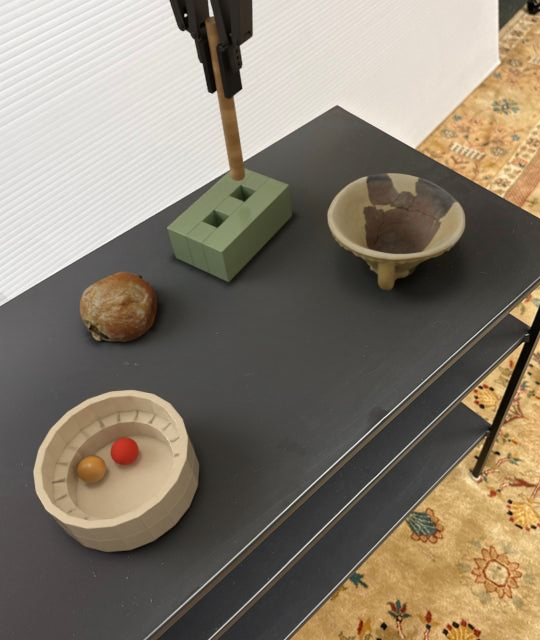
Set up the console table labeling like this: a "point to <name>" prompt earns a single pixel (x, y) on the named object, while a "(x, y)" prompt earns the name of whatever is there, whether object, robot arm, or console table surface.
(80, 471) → the bead
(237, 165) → the stick
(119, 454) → the bead
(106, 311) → the bread roll
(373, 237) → the bowl
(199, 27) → the robot arm
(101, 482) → the mixing bowl
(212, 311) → the console table surface
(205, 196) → the holder
